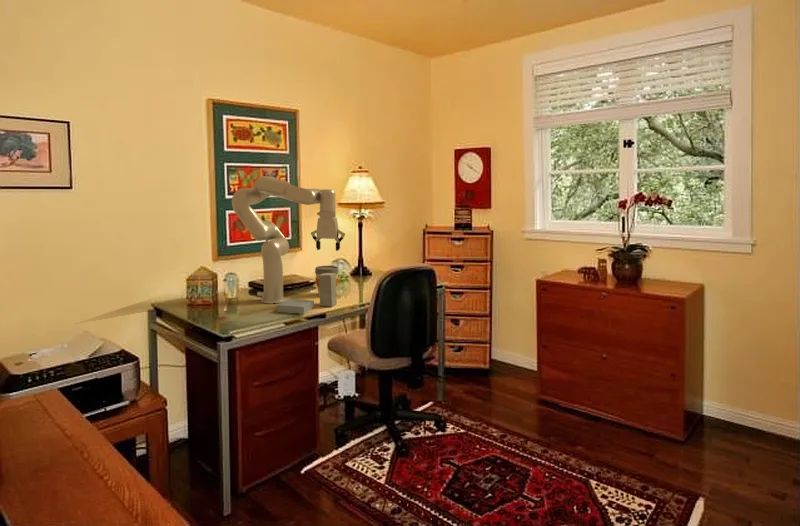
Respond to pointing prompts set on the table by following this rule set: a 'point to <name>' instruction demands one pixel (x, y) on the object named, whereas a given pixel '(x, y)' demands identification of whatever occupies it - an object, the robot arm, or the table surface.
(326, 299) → the skincare box
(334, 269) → the reusable coffee cup
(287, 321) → the table surface
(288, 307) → the slate block
